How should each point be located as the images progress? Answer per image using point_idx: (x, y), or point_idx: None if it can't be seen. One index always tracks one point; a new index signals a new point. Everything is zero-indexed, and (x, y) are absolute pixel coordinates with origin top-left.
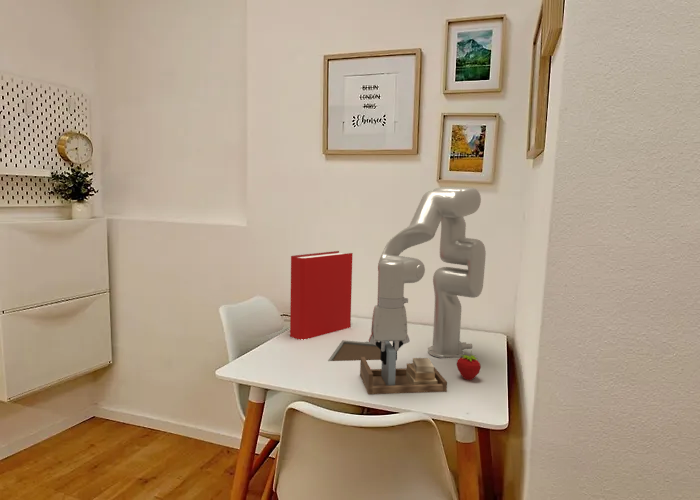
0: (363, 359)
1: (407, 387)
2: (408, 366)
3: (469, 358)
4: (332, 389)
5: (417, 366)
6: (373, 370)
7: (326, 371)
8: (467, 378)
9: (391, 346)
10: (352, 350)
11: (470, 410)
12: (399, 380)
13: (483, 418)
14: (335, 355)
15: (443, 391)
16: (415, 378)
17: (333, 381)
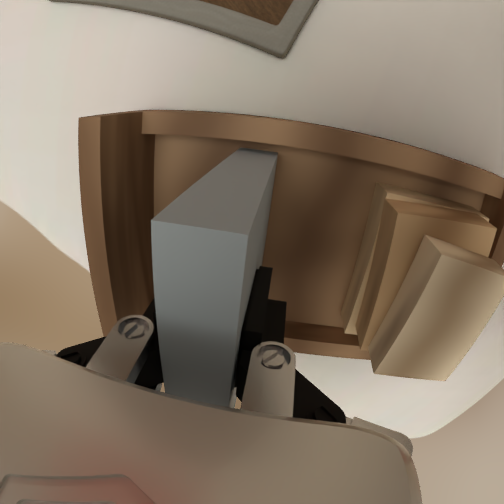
0: (87, 165)
1: (294, 350)
2: (388, 245)
3: None
4: (47, 203)
5: (376, 373)
6: (191, 132)
7: (46, 32)
8: None
9: (217, 399)
10: None
11: (413, 406)
12: (321, 215)
13: (407, 429)
14: None
15: None
16: (357, 332)
17: (51, 131)
